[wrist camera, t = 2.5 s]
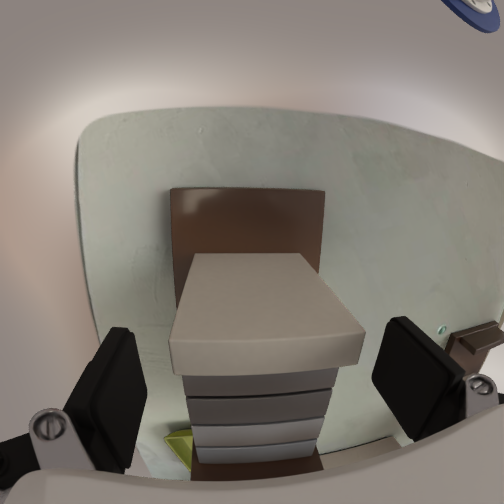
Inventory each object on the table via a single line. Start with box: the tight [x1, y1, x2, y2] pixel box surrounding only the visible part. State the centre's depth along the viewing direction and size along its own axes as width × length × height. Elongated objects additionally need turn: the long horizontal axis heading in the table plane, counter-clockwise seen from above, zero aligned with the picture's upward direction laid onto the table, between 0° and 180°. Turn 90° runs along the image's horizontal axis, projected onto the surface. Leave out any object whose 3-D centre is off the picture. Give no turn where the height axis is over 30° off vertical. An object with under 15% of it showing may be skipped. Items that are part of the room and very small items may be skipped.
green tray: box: [164, 429, 193, 472], centre depth 24 cm, size 9×9×2 cm
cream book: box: [168, 253, 366, 376], centre depth 14 cm, size 2×7×10 cm, turn 89°
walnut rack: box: [170, 187, 339, 481], centre depth 15 cm, size 16×10×11 cm, turn 179°
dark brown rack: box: [445, 321, 504, 381], centre depth 22 cm, size 14×10×11 cm
